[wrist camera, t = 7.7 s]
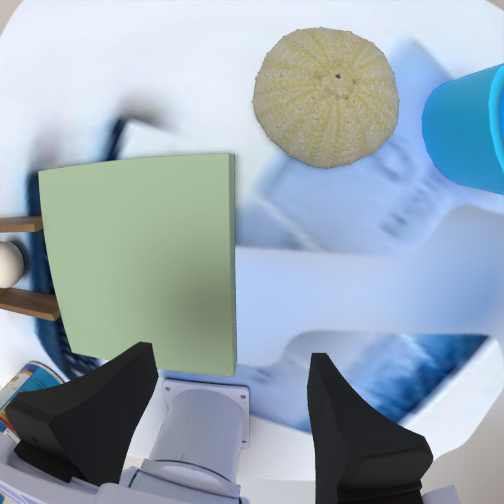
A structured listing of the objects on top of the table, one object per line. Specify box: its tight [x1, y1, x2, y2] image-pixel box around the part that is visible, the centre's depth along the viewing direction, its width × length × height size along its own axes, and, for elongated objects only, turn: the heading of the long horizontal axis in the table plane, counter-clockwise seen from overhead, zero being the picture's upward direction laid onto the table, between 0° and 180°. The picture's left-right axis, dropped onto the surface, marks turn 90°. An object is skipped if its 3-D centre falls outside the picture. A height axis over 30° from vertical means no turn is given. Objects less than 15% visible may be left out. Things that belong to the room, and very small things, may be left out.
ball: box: [0, 242, 24, 288], centre depth 22 cm, size 4×4×4 cm
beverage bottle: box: [0, 362, 63, 504], centre depth 19 cm, size 8×8×20 cm
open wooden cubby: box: [0, 216, 61, 321], centre depth 21 cm, size 11×11×7 cm
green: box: [39, 154, 237, 377], centre depth 21 cm, size 16×15×2 cm
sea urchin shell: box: [252, 27, 400, 169], centre depth 16 cm, size 9×8×8 cm
